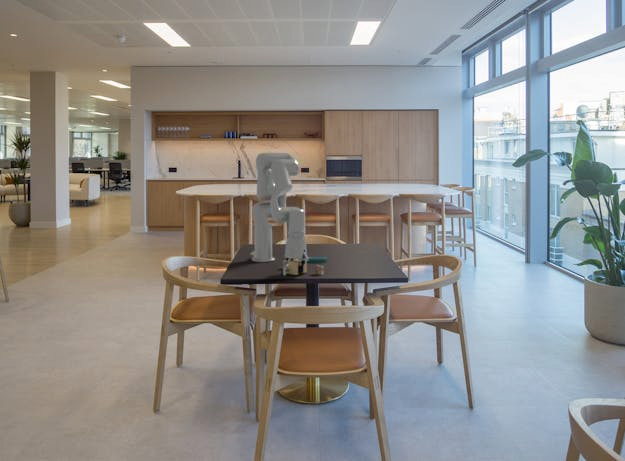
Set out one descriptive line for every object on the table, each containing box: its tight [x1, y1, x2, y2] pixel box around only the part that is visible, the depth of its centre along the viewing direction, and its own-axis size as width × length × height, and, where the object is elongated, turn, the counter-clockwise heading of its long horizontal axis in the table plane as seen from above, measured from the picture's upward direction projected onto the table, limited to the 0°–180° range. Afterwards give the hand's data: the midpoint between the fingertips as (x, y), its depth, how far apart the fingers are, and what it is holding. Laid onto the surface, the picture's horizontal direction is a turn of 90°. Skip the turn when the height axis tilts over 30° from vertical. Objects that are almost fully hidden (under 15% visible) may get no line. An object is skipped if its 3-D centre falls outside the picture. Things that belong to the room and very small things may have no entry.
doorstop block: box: [287, 259, 308, 276], centre depth 279 cm, size 5×8×6 cm, turn 142°
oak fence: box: [282, 259, 325, 276], centre depth 285 cm, size 25×2×4 cm, turn 51°
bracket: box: [294, 256, 328, 264], centre depth 313 cm, size 18×7×8 cm, turn 82°
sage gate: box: [282, 264, 289, 276], centre depth 282 cm, size 15×2×4 cm, turn 171°
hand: (296, 272), depth 279 cm, fingers closed on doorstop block, 5 cm apart
